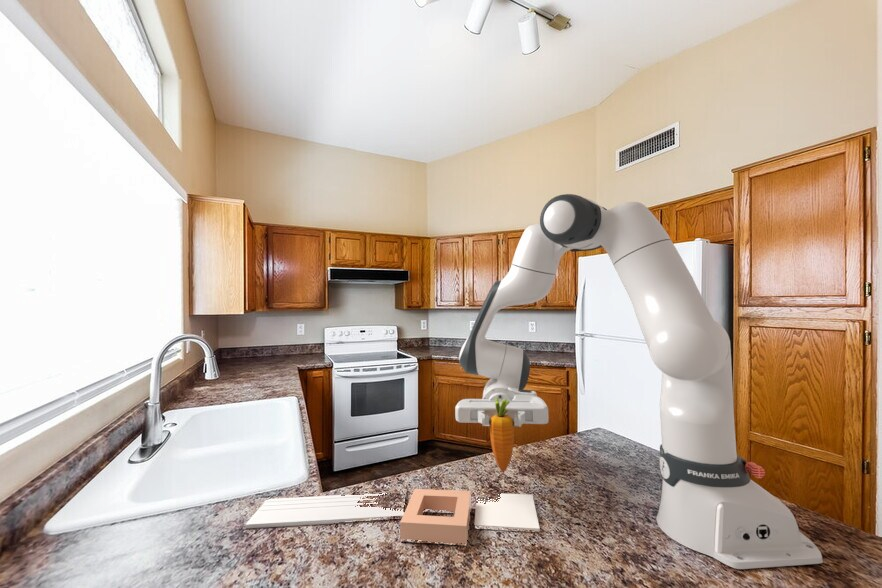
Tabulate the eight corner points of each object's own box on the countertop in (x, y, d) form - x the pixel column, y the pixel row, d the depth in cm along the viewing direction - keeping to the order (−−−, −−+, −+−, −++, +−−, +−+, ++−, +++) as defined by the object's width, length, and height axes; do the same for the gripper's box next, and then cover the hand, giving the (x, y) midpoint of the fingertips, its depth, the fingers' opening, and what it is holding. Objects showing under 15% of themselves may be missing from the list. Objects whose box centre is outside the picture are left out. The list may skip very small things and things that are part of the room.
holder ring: (471, 508, 74) (470, 491, 74) (467, 546, 62) (466, 526, 62) (415, 505, 75) (414, 488, 75) (400, 542, 63) (400, 522, 64)
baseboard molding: (271, 499, 81) (245, 532, 69) (271, 486, 81) (244, 517, 69) (407, 492, 82) (404, 523, 70) (407, 479, 82) (403, 508, 70)
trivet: (532, 498, 77) (532, 494, 77) (539, 533, 65) (539, 528, 65) (477, 496, 78) (477, 492, 78) (474, 529, 66) (474, 524, 66)
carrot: (490, 466, 75) (488, 394, 76) (514, 467, 74) (512, 395, 75) (491, 477, 70) (488, 400, 71) (516, 478, 69) (513, 401, 70)
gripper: (457, 390, 87) (450, 406, 73) (542, 391, 84) (552, 407, 70) (457, 416, 87) (451, 437, 73) (543, 418, 84) (553, 439, 70)
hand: (501, 422), depth 72 cm, fingers closed on carrot, 5 cm apart
